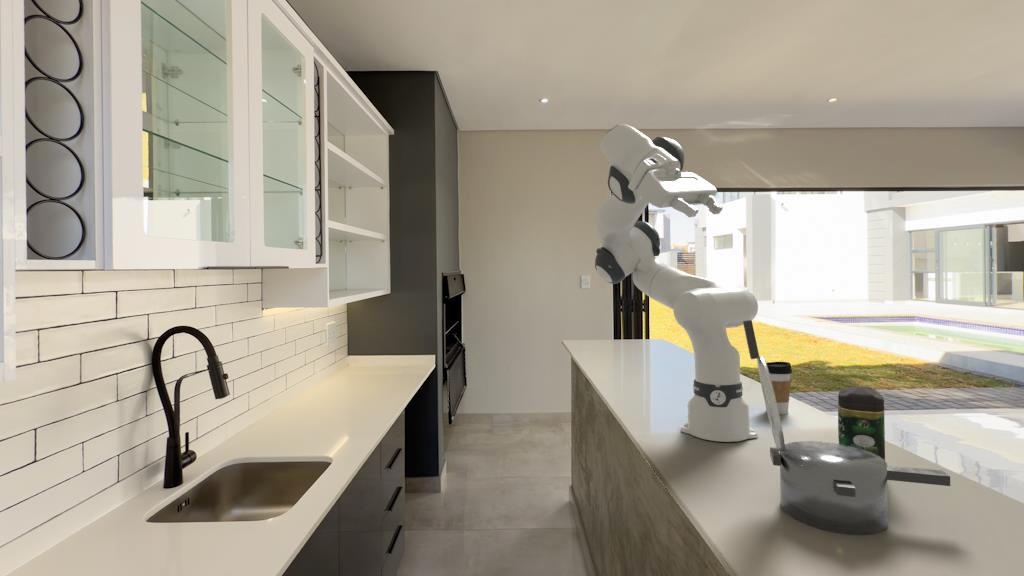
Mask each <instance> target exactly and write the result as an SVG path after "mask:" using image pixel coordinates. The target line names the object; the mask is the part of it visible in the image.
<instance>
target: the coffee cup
mask: <svg viewBox="0 0 1024 576" xmlns="http://www.w3.org/2000/svg"><path fill="white" fill-rule="evenodd" d="M766 363H767V367H768V370H769V374H770V377H771V381H772V385H773V389H774V393H775V397H776V401H777V406H778V410H779V415H780V414H782V415H787V414H789V405H790V404H789V402H790V396H791V395H790V393H791V382H792V379H791V376H792V375H791V374H792V373H793V370H792V365H791V363H790V362H787V361H770V362H766ZM765 411H766V412H767V409H766V408H765Z"/></svg>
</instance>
